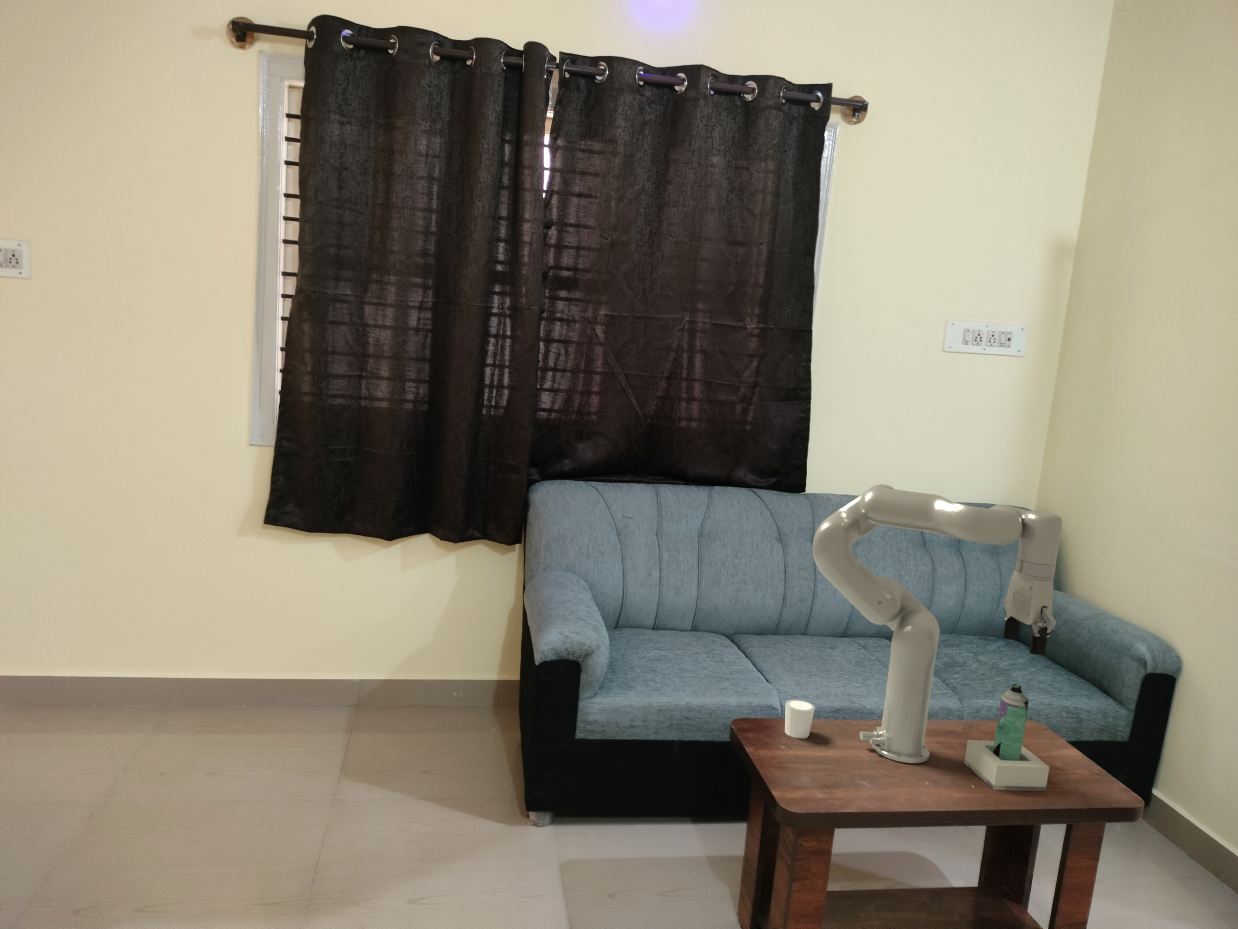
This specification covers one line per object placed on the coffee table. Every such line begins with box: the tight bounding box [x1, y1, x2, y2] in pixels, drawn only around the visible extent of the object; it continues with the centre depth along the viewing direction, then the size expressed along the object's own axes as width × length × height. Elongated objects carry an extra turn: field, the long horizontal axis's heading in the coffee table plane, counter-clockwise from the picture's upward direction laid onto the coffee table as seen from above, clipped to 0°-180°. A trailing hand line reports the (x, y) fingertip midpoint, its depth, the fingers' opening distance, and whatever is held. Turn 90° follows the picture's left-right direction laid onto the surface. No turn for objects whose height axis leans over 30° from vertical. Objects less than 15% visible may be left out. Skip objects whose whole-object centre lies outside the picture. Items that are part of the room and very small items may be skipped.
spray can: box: [993, 683, 1029, 761], centre depth 188 cm, size 6×6×20 cm
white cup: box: [784, 699, 816, 739], centre depth 202 cm, size 7×7×7 cm
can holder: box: [963, 739, 1050, 792], centre depth 189 cm, size 12×12×6 cm
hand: (1023, 646), depth 185 cm, fingers open, 9 cm apart
